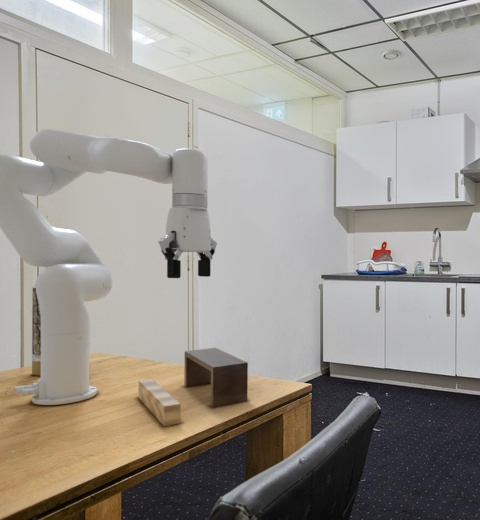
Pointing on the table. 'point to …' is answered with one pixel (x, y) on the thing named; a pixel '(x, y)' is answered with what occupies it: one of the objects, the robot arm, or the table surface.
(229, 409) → the table surface
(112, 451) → the table surface
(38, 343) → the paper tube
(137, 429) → the table surface
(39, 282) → the robot arm
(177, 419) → the stick
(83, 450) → the table surface
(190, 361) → the dark brown channel bracket
